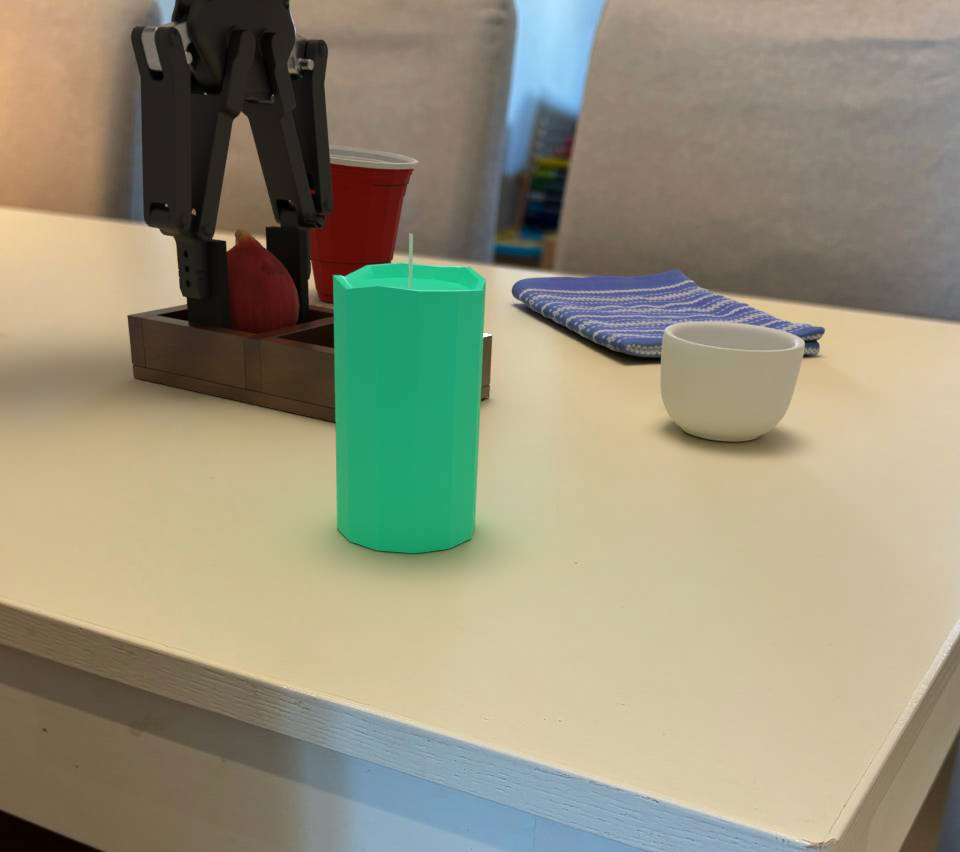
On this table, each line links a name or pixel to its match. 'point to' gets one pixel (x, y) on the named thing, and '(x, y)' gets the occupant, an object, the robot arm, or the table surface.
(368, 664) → the table surface
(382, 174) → the plastic cup
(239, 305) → the onion
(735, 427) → the teacup
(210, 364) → the tray
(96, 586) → the table surface
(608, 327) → the dish towel
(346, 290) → the candle
